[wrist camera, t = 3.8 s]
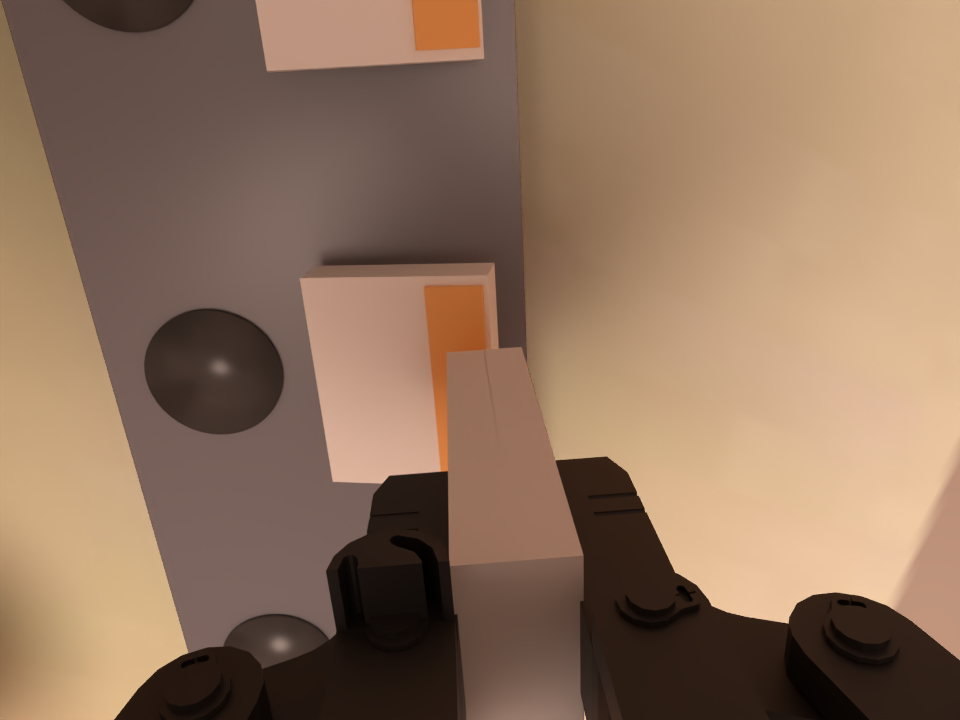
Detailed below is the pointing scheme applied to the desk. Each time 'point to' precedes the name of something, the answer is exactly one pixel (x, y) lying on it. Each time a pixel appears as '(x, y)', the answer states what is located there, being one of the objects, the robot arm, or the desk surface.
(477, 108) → the power strip
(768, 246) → the desk surface
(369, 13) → the rocker
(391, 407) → the middle rocker
